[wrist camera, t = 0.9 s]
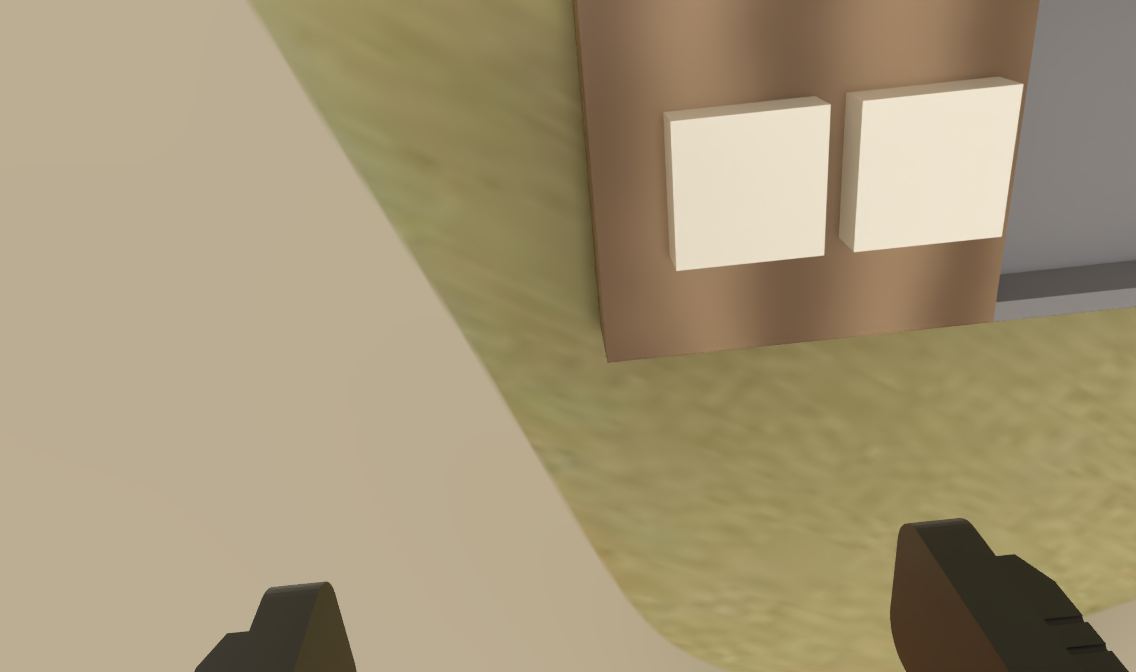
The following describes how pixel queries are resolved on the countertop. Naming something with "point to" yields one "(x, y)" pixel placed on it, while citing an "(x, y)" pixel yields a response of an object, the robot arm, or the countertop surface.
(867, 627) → the countertop surface
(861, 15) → the wooden switch plate
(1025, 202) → the bin
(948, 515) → the countertop surface
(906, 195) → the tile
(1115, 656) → the robot arm
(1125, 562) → the countertop surface
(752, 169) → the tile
